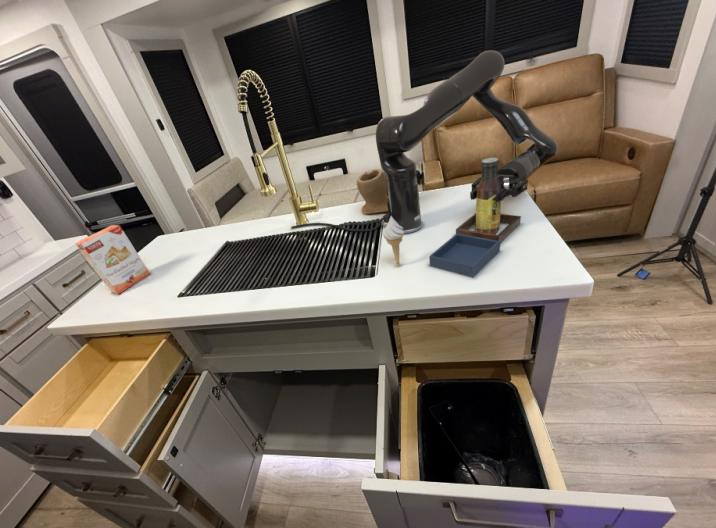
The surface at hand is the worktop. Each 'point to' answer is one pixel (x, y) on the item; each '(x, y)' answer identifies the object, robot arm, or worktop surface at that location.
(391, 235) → the ice cream cone
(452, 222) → the worktop surface
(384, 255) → the worktop surface
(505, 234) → the walnut frame
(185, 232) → the worktop surface
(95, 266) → the cracker box
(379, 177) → the stone cup
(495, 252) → the slate tray
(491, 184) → the sauce bottle
